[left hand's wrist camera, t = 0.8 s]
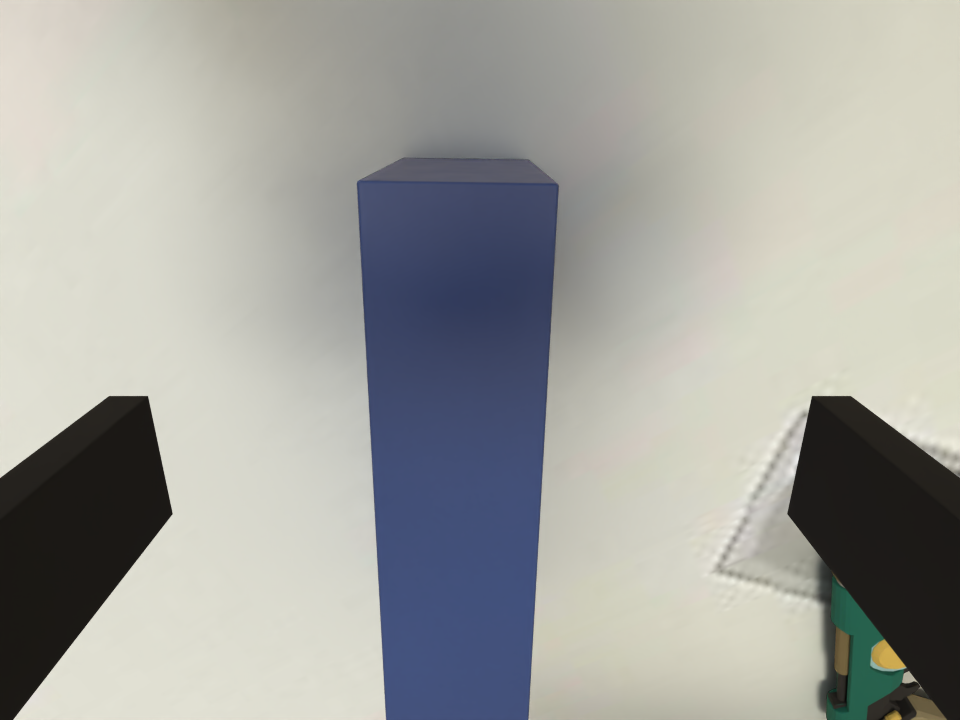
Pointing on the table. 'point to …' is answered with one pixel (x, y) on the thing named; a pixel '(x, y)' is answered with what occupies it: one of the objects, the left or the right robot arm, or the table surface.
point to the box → (457, 425)
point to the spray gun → (869, 670)
